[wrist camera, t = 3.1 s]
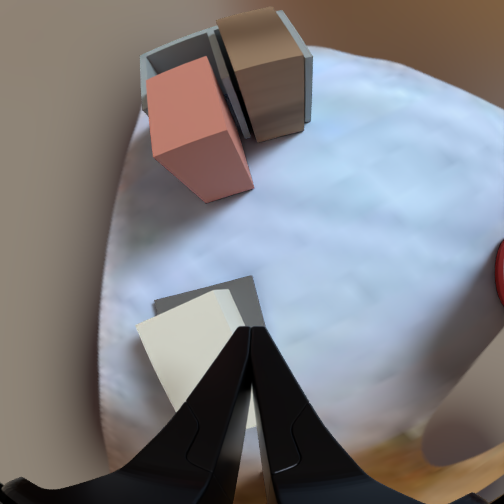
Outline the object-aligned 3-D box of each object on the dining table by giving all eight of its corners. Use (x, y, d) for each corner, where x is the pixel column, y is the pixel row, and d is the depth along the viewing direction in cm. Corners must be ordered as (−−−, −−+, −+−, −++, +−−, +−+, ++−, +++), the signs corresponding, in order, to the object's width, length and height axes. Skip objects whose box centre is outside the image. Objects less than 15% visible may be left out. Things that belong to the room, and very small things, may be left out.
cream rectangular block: (279, 396, 19) (274, 420, 15) (209, 418, 20) (193, 442, 16) (228, 288, 21) (212, 290, 17) (161, 319, 21) (135, 325, 17)
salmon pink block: (254, 188, 22) (227, 129, 13) (205, 203, 22) (153, 157, 13) (236, 126, 23) (206, 55, 14) (192, 141, 23) (145, 80, 14)
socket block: (310, 121, 22) (312, 56, 14) (186, 158, 23) (142, 109, 15) (288, 73, 23) (281, 10, 15) (177, 107, 24) (139, 55, 16)
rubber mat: (287, 410, 19) (287, 413, 19) (194, 423, 20) (191, 426, 20) (252, 275, 21) (250, 275, 20) (157, 299, 22) (154, 300, 21)
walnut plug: (304, 130, 22) (303, 55, 13) (257, 142, 22) (234, 71, 13) (282, 80, 22) (272, 6, 14) (240, 91, 23) (215, 20, 14)
